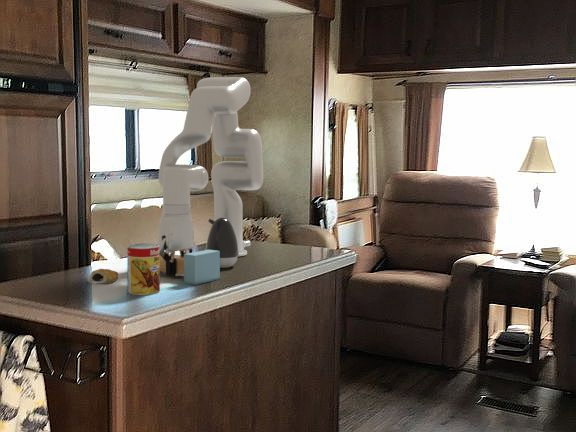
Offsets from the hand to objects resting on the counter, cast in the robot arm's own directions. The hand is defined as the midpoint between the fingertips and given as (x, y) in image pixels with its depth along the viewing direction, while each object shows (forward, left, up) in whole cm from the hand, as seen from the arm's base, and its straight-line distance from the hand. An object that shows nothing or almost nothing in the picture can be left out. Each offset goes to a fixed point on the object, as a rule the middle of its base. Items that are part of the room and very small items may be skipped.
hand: (177, 273), depth 199 cm
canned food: (+19, +7, -1) cm, 20 cm away
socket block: (0, +10, -1) cm, 10 cm away
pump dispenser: (-20, -1, -1) cm, 20 cm away
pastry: (+17, -12, -1) cm, 20 cm away
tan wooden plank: (0, -3, 0) cm, 3 cm away
